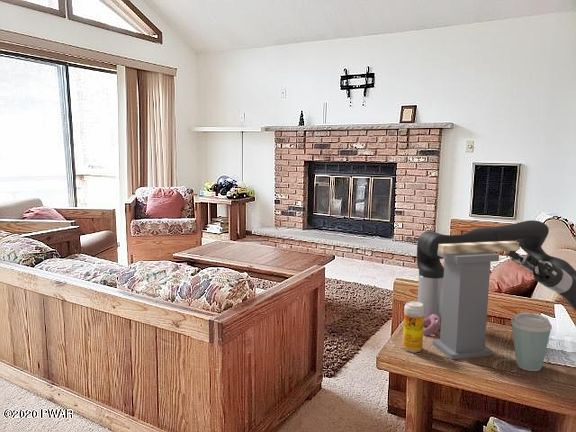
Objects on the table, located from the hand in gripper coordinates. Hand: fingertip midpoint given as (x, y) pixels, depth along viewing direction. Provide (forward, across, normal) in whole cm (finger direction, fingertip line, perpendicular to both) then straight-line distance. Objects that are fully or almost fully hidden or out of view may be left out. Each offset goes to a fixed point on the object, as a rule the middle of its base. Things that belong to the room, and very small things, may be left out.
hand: (517, 254), depth 146 cm
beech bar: (+12, +1, -6) cm, 14 cm away
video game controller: (+1, +17, -36) cm, 40 cm away
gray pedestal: (0, +1, -35) cm, 35 cm away
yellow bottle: (+12, +5, -43) cm, 45 cm away
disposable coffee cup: (-11, -13, -29) cm, 34 cm away
